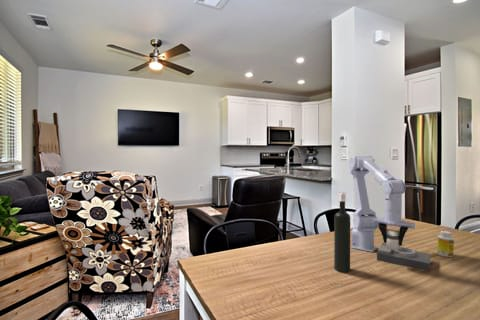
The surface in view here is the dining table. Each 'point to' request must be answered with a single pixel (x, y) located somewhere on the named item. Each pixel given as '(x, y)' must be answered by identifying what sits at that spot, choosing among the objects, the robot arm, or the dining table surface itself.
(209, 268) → the dining table surface
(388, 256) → the camera body
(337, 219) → the wine bottle
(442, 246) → the supplement bottle
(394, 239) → the lens
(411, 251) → the mount ring
